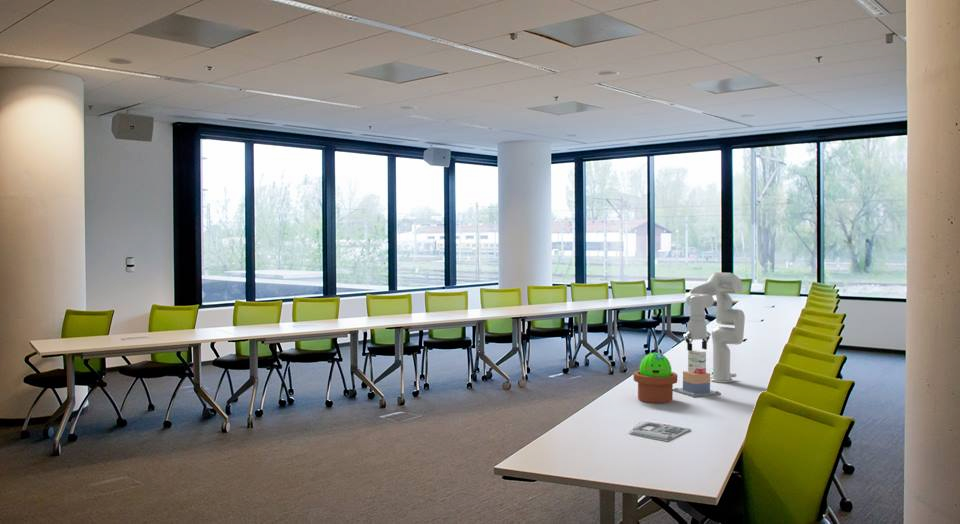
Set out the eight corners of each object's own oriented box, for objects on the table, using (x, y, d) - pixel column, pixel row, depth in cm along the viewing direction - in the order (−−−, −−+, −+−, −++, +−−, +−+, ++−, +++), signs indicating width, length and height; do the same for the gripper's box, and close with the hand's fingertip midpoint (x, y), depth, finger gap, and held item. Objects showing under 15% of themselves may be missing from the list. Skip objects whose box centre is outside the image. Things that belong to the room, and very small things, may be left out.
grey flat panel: (667, 437, 299) (623, 429, 311) (667, 444, 299) (623, 435, 311) (691, 425, 317) (648, 418, 329) (691, 431, 317) (648, 424, 329)
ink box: (706, 373, 392) (706, 351, 392) (700, 374, 389) (700, 352, 389) (693, 370, 399) (693, 349, 399) (687, 371, 396) (687, 350, 396)
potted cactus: (633, 394, 390) (633, 347, 389) (675, 396, 386) (676, 349, 385) (633, 403, 369) (633, 354, 368) (678, 405, 364) (678, 355, 363)
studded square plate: (698, 388, 406) (699, 368, 406) (721, 394, 390) (721, 374, 389) (672, 390, 399) (672, 370, 399) (693, 397, 383) (693, 376, 382)
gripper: (705, 316, 400) (705, 347, 401) (679, 318, 393) (679, 350, 394) (714, 318, 393) (714, 349, 394) (688, 320, 386) (688, 352, 387)
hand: (697, 349), depth 394 cm, fingers open, 9 cm apart
